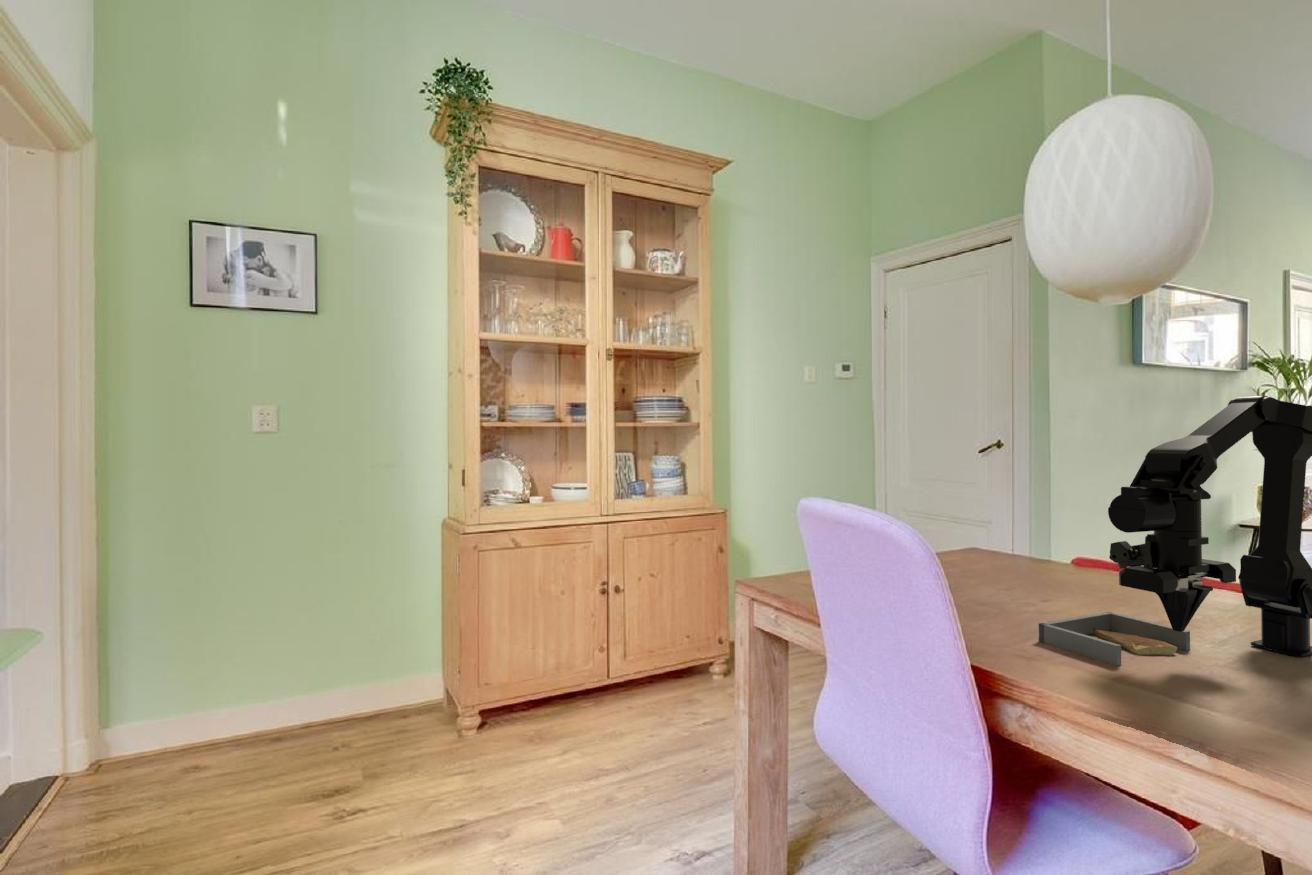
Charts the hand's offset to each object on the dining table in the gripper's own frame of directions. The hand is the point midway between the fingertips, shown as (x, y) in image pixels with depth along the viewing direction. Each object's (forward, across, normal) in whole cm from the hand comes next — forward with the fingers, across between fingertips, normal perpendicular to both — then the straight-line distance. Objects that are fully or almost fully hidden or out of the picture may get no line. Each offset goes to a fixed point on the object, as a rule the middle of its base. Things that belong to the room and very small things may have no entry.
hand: (1178, 630), depth 99 cm
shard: (+6, -2, -8) cm, 11 cm away
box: (+5, 0, -10) cm, 11 cm away
